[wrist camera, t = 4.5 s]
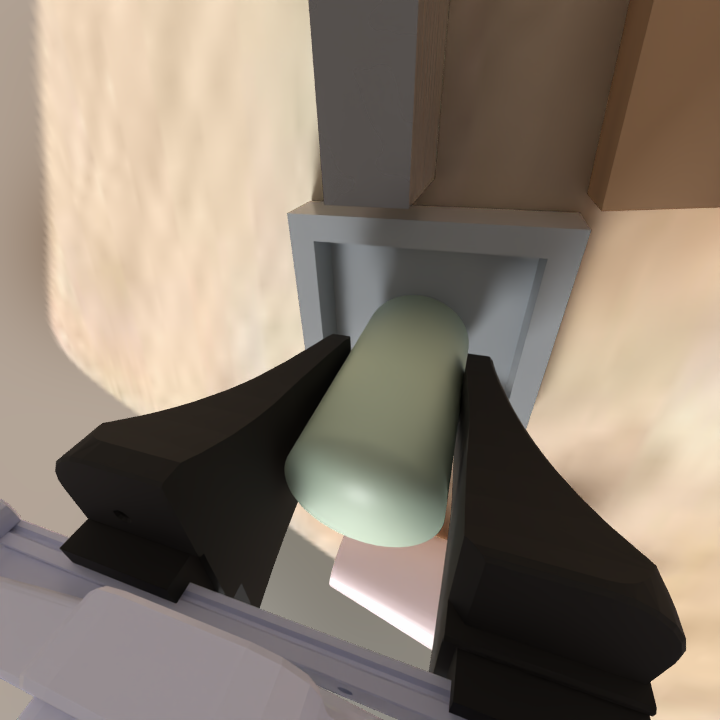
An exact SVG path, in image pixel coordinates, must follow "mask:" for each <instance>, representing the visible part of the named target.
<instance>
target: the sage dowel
mask: <svg viewBox="0 0 720 720" xmlns="http://www.w3.org/2000/svg"><path fill="white" fill-rule="evenodd" d="M468 349H469V339H468V333H467V330H466V328H465V325H464V323H463V322H462V320H461V319H460V317H459V316H458V315H457V314H456V313H455V312H454V311H453V310H452V309H451V308H450V307H448V306H447V305H445V304H444V303H442V302H440V301H438V300H436V299H433V298H430V297H426V296H420V295H406V296H400V297H396V298H394V299H391V300H389V301H387V302H386V303H384V304H383V305H381V306H380V307H379V308H378V309H377V310H376V311H375V313H374V314H373V316H372V317H371V319H370V320H369V322H368V324H367V325H366V327H365V329H364V330H363V332H362V334H361V335H360V337H359V339H358V340H357V342H356V344H355V345H354V347H353V349H352V350H351V352H350V354H349V355H348V357H347V358H346V360H345V362H344V363H343V365H342V367H341V368H340V370H339V372H338V373H337V375H336V377H335V378H334V380H333V382H332V383H331V385H330V387H329V388H328V390H327V392H326V393H325V395H324V397H323V398H322V400H321V402H320V403H319V405H318V407H317V408H316V410H315V412H314V413H313V415H312V416H311V418H310V420H309V421H308V423H307V425H306V426H305V428H304V430H303V431H302V433H301V435H300V436H299V438H298V440H297V441H296V443H295V445H294V446H293V448H292V450H291V451H290V453H289V455H288V457H287V459H286V461H285V467H284V472H285V478H286V482H287V484H288V487H289V489H290V491H291V493H292V494H293V496H294V497H295V498H296V500H297V501H298V502H299V503H300V505H301V506H302V507H303V508H304V509H305V510H306V511H307V512H308V513H310V514H311V515H312V516H313V517H314V518H316V519H317V520H318V521H320V522H321V523H323V524H324V525H326V526H327V527H329V528H331V529H333V530H334V531H336V532H338V533H340V534H342V535H345V536H347V537H349V538H352V539H355V540H358V541H361V542H364V543H368V544H372V545H377V546H384V547H408V546H414V545H418V544H421V543H424V542H426V541H428V540H430V539H432V538H433V537H434V536H435V535H436V534H437V533H438V532H439V531H440V530H441V528H442V526H443V524H444V519H445V513H446V506H447V499H448V492H449V484H450V477H451V470H452V463H453V456H454V449H455V442H456V434H457V427H458V420H459V413H460V405H461V394H462V387H463V380H464V373H465V367H466V361H467V355H468Z"/></svg>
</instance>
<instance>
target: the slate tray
mask: <svg viewBox="0 0 720 720" xmlns="http://www.w3.org/2000/svg"><path fill="white" fill-rule="evenodd" d="M287 216H288V223H289V231H290V238H291V246H292V254H293V261H294V269H295V276H296V284H297V291H298V299H299V306H300V314H301V321H302V329H303V336H304V344H305V350H306V349H308V348H309V347H311V346H312V345H314V344H316V343H317V342H319V341H321V340H322V339H324V338H326V337H327V336H329V335H331V334H338V335H345V336H350V338H351V350H352V349H353V347H354V345H355V344H356V342H357V340H358V339H359V337H360V335H361V334H362V332H363V330H364V329H365V327H366V325H367V324H368V322H369V320H370V319H371V317H372V316H373V314H374V313H375V311H376V310H377V309H378V308H379V307H380V306H381V305H383V304H384V303H386V302H387V301H389V300H391V299H394V298H396V297H400V296H406V295H420V296H426V297H430V298H433V299H436V300H438V301H440V302H442V303H444V304H445V305H447V306H448V307H450V308H451V309H452V310H453V311H454V312H455V313H456V314H457V315H458V316H459V317H460V319H461V320H462V322H463V323H464V325H465V328H466V330H467V333H468V339H469V349H468V353H469V354H476V355H483V356H490V358H491V359H492V360H493V364H494V367H495V370H496V373H497V375H498V378H499V380H500V383H501V385H502V387H503V389H504V391H505V393H506V395H507V397H508V399H509V401H510V403H511V405H512V407H513V409H514V411H515V413H516V414H517V416H518V418H519V419H520V421H521V423H522V424H523V426H524V428H525V429H526V428H527V425H528V422H529V419H530V415H531V412H532V409H533V406H534V403H535V400H536V397H537V394H538V391H539V388H540V385H541V382H542V379H543V376H544V373H545V370H546V367H547V364H548V361H549V358H550V355H551V352H552V348H553V345H554V342H555V339H556V336H557V333H558V330H559V327H560V324H561V321H562V318H563V315H564V312H565V309H566V306H567V303H568V300H569V297H570V294H571V291H572V288H573V285H574V281H575V278H576V275H577V272H578V269H579V266H580V263H581V260H582V257H583V254H584V251H585V248H586V245H587V242H588V239H589V236H590V233H591V229H590V227H589V226H588V224H587V223H586V221H585V220H584V218H583V217H582V215H581V214H580V213H579V212H556V211H534V210H511V209H489V208H466V207H443V206H421V205H412V206H411V207H410V208H409V209H397V208H375V207H354V206H333V205H324V201H309V202H307V203H306V204H304V205H302V206H300V207H298V208H296V209H294V210H292V211H291V212H289V213H287Z"/></svg>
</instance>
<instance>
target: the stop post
mask: <svg viewBox="0 0 720 720" xmlns="http://www.w3.org/2000/svg"><path fill="white" fill-rule="evenodd" d="M449 3H450V0H309V13H310V26H311V39H312V52H313V65H314V78H315V92H316V105H317V118H318V131H319V144H320V157H321V170H322V183H323V196H324V205H333V206H354V207H375V208H397V209H409V208H410V207H411V206H412V204H413V203H414V202H415V201H416V200H417V199H418V197H419V196H420V195H421V194H422V193H423V192H424V190H425V189H426V188H427V187H428V186H429V185H430V183H431V182H432V181H433V180H434V179H435V171H436V159H437V147H438V135H439V123H440V111H441V99H442V87H443V75H444V63H445V51H446V39H447V27H448V15H449Z"/></svg>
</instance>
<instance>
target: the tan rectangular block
mask: <svg viewBox="0 0 720 720" xmlns="http://www.w3.org/2000/svg"><path fill="white" fill-rule="evenodd" d="M587 194H588V195H589V197H590V198H591V199H592V200H593V201H594V203H595V204H596V205H597V206H598V208H599V209H600V210H601V211H624V210H655V209H687V208H718V207H720V0H630V2H629V7H628V11H627V16H626V20H625V25H624V29H623V34H622V38H621V43H620V48H619V52H618V57H617V61H616V66H615V70H614V75H613V79H612V84H611V88H610V93H609V97H608V102H607V106H606V111H605V116H604V120H603V125H602V129H601V134H600V138H599V143H598V147H597V152H596V156H595V161H594V165H593V170H592V174H591V179H590V184H589V188H588V193H587Z"/></svg>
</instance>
